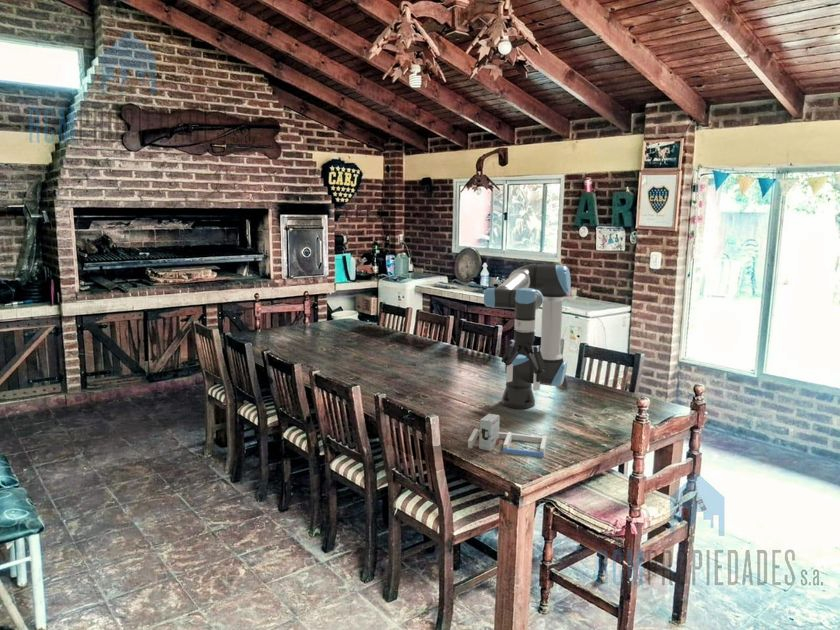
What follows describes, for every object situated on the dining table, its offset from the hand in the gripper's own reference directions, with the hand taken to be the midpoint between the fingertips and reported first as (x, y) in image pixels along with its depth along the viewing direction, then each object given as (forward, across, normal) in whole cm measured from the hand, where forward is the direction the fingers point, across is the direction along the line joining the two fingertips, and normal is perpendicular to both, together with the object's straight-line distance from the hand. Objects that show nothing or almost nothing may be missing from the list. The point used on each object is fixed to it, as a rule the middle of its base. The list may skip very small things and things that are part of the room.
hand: (522, 385), depth 240 cm
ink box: (+25, -8, -8) cm, 27 cm away
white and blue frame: (+24, -5, -2) cm, 25 cm away
